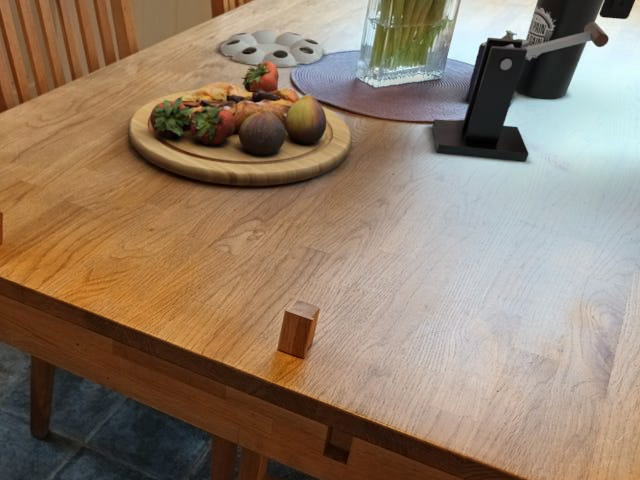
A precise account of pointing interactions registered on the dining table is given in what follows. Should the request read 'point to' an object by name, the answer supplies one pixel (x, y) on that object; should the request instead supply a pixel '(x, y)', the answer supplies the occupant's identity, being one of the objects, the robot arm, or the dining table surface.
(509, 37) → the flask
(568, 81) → the water bottle
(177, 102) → the wooden plate
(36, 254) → the dining table surface
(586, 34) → the lever
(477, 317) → the dining table surface
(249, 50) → the round palette
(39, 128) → the dining table surface
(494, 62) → the black stand
